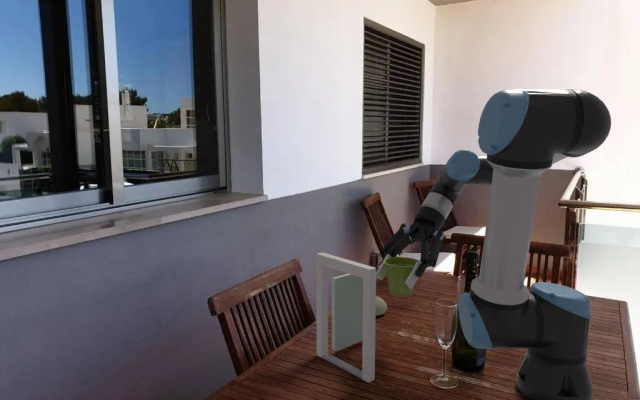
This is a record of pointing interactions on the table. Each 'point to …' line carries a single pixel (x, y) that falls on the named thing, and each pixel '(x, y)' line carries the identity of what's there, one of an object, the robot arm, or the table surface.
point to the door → (347, 311)
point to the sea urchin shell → (380, 306)
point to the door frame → (368, 312)
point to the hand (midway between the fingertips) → (393, 281)
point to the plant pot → (399, 274)
